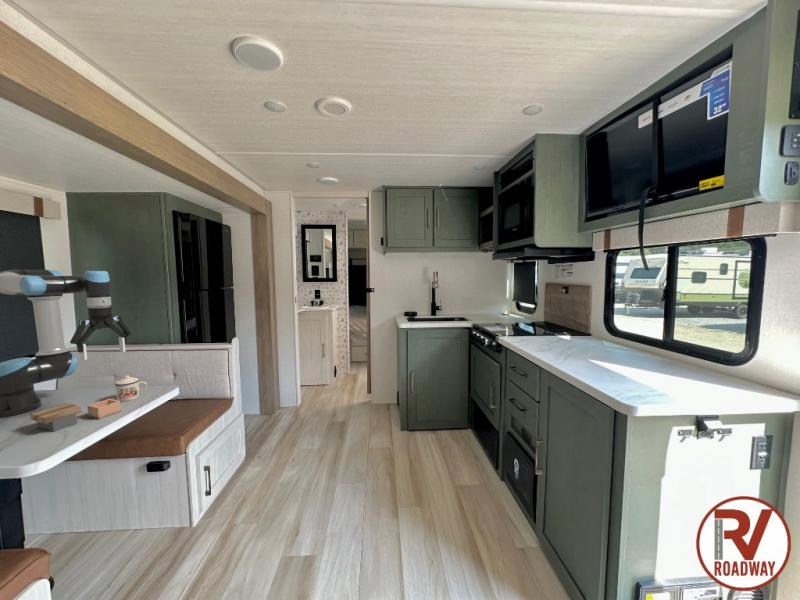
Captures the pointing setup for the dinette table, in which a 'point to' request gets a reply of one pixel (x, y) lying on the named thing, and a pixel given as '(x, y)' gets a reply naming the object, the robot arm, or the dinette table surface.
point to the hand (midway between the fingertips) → (104, 355)
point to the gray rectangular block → (59, 423)
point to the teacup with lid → (128, 388)
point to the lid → (55, 413)
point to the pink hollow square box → (104, 408)
